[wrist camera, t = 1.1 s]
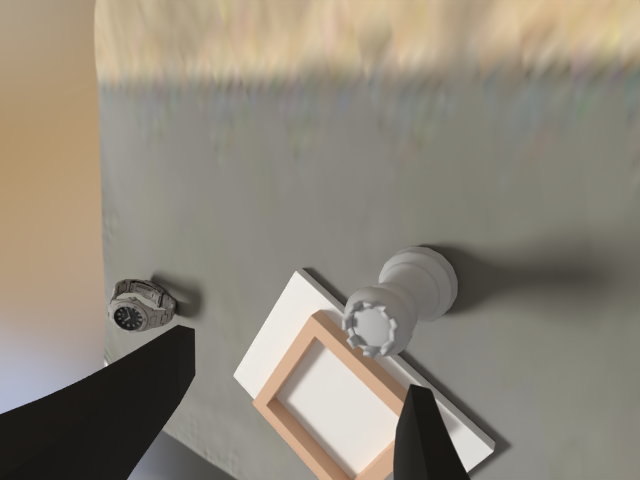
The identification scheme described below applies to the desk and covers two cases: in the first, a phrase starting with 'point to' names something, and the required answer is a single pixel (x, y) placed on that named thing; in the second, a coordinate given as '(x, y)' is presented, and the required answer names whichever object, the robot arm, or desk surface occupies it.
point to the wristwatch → (140, 306)
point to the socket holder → (337, 390)
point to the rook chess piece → (400, 301)
